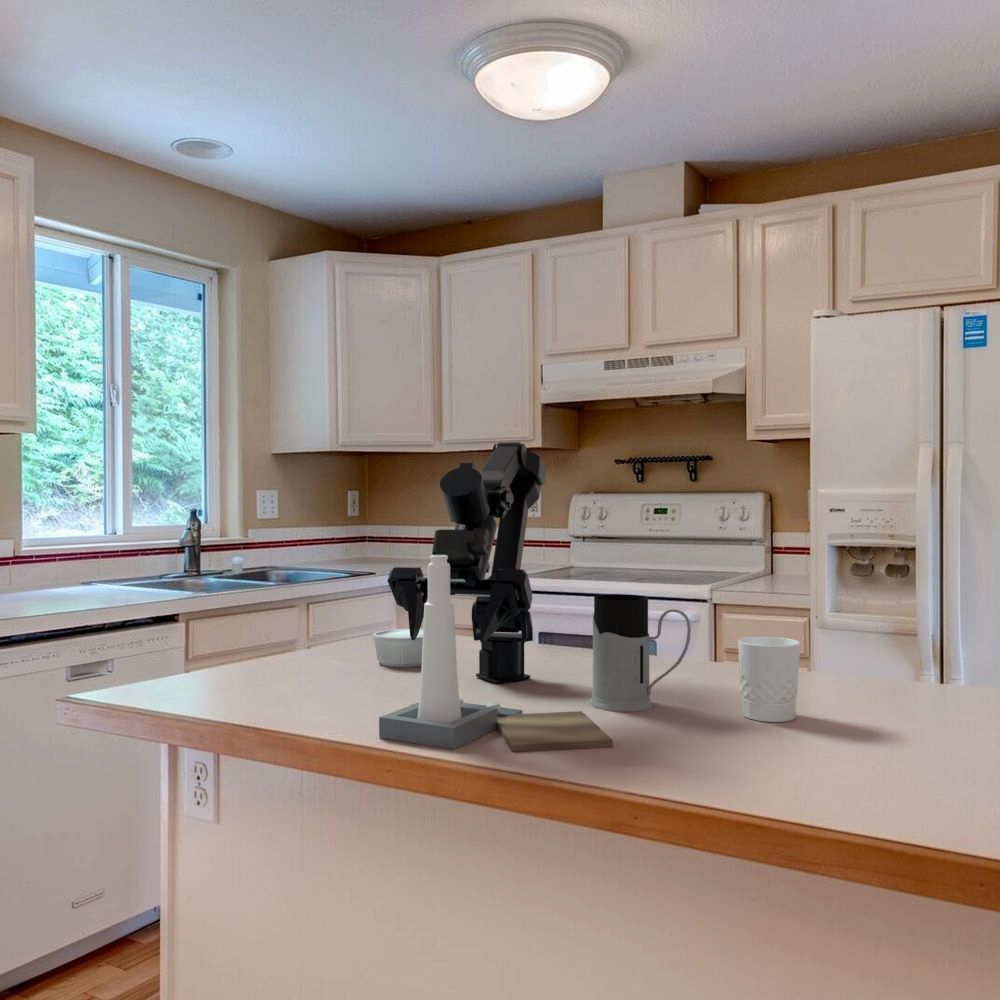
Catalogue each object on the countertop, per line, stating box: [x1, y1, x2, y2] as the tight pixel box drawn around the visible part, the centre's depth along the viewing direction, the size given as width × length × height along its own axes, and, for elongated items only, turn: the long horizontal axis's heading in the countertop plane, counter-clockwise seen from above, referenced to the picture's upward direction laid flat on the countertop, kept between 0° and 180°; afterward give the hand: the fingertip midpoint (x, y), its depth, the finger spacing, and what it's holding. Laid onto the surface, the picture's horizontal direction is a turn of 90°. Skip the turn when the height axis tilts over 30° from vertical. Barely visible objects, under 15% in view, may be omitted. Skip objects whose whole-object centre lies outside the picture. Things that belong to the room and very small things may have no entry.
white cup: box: [737, 635, 801, 723], centre depth 122 cm, size 8×8×10 cm
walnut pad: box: [497, 710, 614, 753], centre depth 114 cm, size 14×12×1 cm
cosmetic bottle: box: [417, 554, 462, 723], centre depth 114 cm, size 6×6×22 cm
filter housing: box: [378, 697, 523, 750], centre depth 117 cm, size 18×11×2 cm, turn 152°
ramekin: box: [372, 628, 423, 668], centre depth 160 cm, size 11×11×5 cm
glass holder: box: [589, 593, 692, 713], centre depth 128 cm, size 9×14×15 cm, turn 64°
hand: (446, 639), depth 117 cm, fingers open, 9 cm apart
